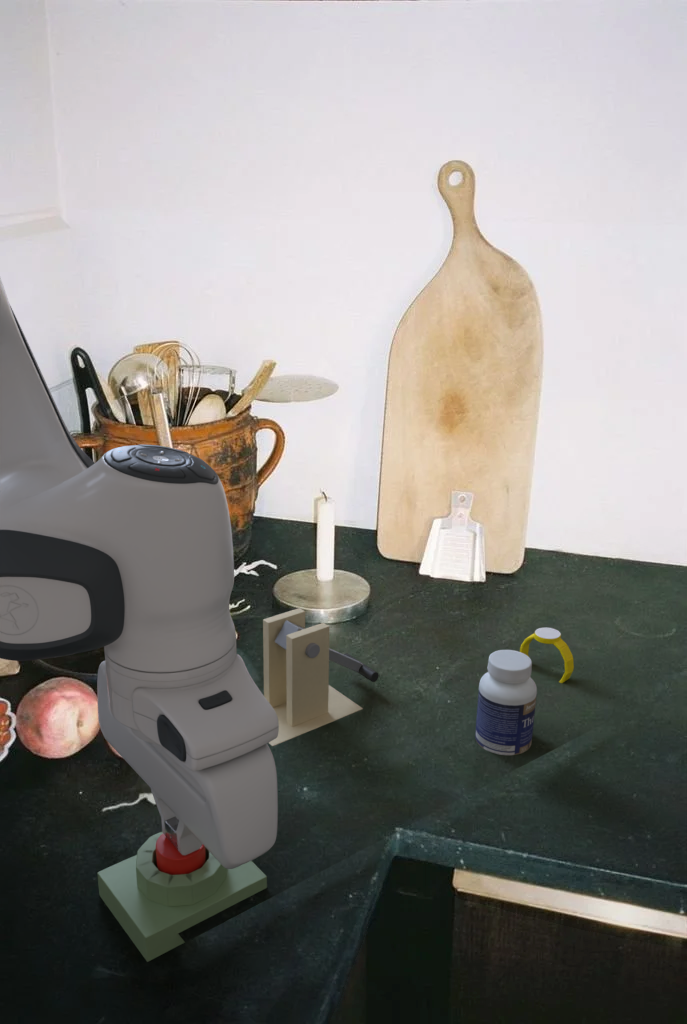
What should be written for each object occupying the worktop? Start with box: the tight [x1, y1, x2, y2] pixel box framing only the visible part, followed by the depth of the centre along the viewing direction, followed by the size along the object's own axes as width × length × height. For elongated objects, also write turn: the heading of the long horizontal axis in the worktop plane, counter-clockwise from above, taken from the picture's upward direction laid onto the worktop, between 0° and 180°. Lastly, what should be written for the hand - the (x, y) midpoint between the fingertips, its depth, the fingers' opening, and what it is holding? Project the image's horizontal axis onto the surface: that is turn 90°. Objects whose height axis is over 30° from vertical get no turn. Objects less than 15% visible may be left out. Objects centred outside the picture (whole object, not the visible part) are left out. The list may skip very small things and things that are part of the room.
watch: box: [519, 627, 575, 684], centre depth 101 cm, size 6×3×6 cm, turn 47°
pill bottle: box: [474, 649, 538, 756], centre depth 88 cm, size 5×5×10 cm
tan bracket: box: [262, 607, 364, 747], centre depth 92 cm, size 11×8×11 cm
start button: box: [156, 834, 206, 875], centre depth 70 cm, size 4×4×2 cm
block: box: [96, 831, 268, 963], centre depth 70 cm, size 10×8×4 cm
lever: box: [275, 620, 380, 683], centre depth 94 cm, size 12×5×2 cm
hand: (182, 842), depth 69 cm, fingers closed, pressing on start button
